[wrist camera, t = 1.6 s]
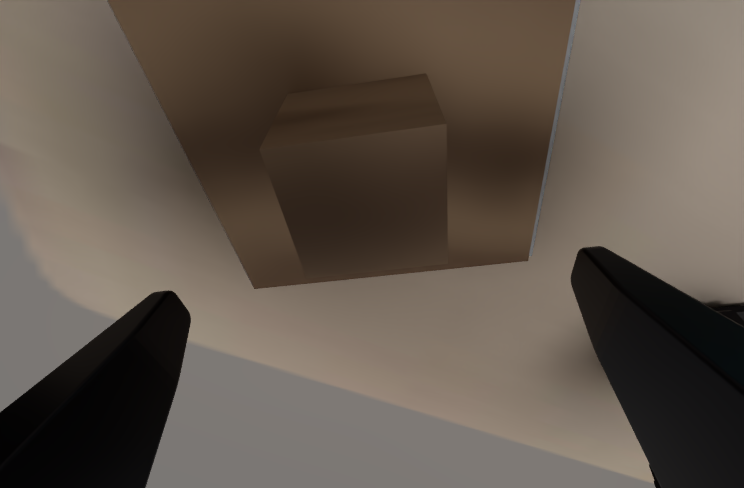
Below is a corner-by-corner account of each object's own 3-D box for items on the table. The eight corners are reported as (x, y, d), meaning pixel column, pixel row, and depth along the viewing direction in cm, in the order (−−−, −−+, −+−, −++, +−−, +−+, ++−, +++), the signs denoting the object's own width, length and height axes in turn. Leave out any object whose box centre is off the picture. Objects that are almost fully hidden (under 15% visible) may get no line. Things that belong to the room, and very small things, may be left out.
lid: (522, 249, 17) (563, 333, 14) (258, 277, 19) (231, 362, 15) (587, -144, 9) (735, -195, 5) (99, -49, 10) (-53, -40, 7)
